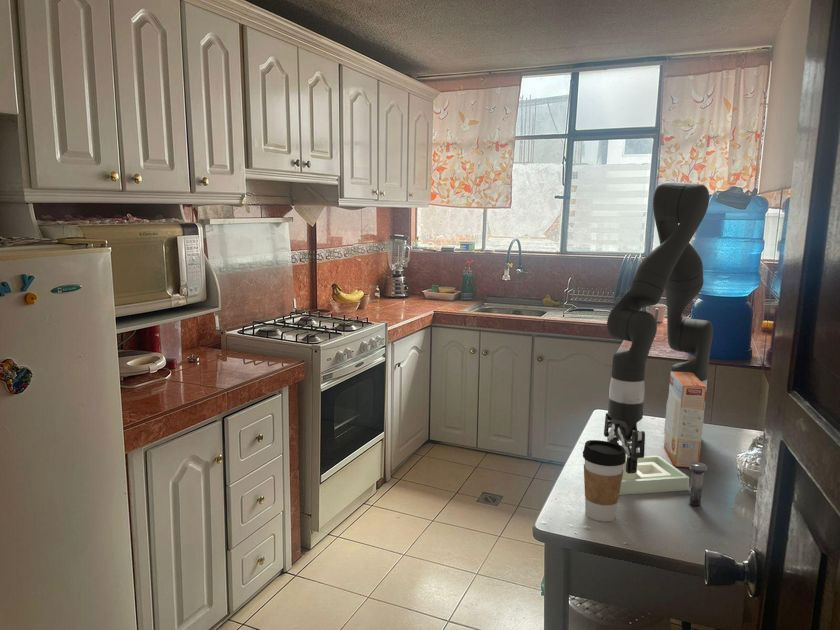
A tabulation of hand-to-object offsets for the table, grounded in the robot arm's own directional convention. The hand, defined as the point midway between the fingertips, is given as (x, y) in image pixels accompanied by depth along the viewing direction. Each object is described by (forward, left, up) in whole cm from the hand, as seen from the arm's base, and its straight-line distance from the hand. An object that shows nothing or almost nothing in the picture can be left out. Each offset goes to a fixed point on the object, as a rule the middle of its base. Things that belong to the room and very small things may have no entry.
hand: (621, 465), depth 141 cm
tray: (0, +4, -4) cm, 6 cm away
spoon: (-15, +9, -5) cm, 18 cm away
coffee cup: (+14, -12, -4) cm, 19 cm away
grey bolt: (+13, +10, -4) cm, 17 cm away
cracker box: (-11, +22, -4) cm, 25 cm away
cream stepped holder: (0, +4, -3) cm, 5 cm away
